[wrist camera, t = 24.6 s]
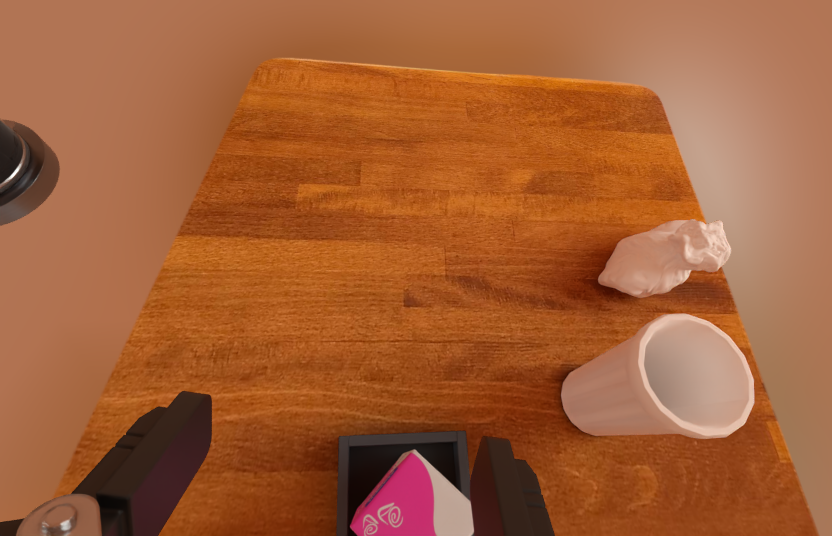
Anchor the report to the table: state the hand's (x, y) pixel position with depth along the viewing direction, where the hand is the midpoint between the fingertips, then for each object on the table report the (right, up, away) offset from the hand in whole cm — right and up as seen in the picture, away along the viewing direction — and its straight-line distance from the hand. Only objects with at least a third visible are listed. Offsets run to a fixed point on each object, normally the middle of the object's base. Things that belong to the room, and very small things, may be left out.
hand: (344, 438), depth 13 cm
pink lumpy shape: (+26, +4, +35) cm, 43 cm away
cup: (+19, -8, +28) cm, 35 cm away
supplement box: (+1, -14, +23) cm, 27 cm away
